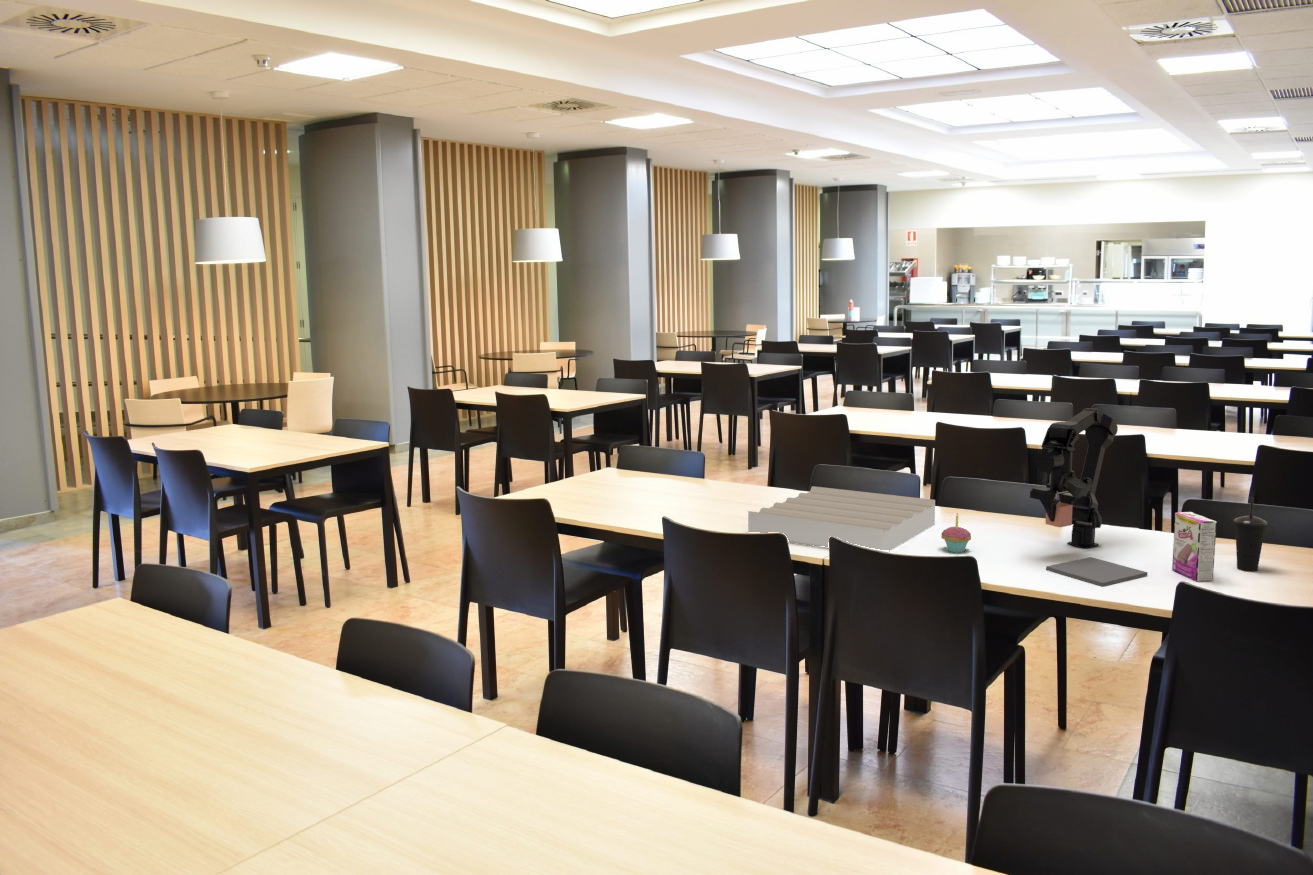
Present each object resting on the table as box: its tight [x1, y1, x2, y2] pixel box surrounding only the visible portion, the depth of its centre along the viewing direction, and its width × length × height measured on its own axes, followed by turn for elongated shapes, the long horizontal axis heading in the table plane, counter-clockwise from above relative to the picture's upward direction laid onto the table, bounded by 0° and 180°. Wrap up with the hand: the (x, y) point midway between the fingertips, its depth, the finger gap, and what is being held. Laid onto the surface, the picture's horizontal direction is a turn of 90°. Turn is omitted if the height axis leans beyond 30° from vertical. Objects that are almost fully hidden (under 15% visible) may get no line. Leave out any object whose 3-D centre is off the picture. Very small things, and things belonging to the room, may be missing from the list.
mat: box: [1045, 556, 1148, 587], centre depth 267 cm, size 18×18×1 cm
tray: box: [747, 486, 936, 552], centre depth 318 cm, size 45×45×9 cm
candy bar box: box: [1171, 511, 1218, 583], centre depth 261 cm, size 11×5×16 cm, turn 5°
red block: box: [1044, 501, 1073, 528], centre depth 282 cm, size 5×5×6 cm
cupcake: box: [940, 512, 972, 553], centre depth 291 cm, size 9×8×12 cm
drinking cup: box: [1233, 497, 1268, 572], centre depth 266 cm, size 8×8×20 cm
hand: (1058, 520), depth 282 cm, fingers closed on red block, 5 cm apart
